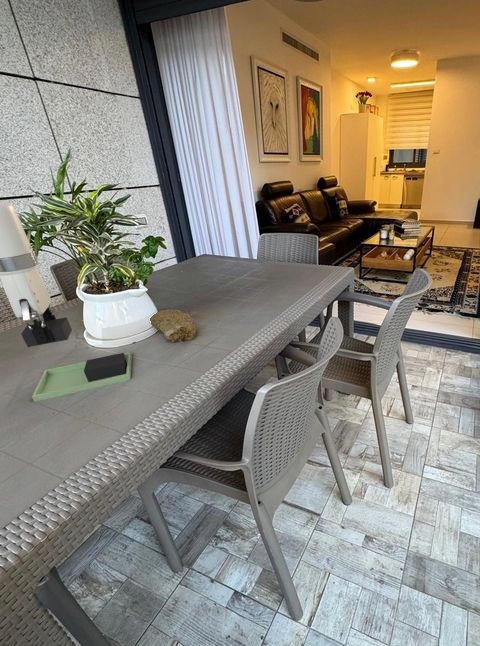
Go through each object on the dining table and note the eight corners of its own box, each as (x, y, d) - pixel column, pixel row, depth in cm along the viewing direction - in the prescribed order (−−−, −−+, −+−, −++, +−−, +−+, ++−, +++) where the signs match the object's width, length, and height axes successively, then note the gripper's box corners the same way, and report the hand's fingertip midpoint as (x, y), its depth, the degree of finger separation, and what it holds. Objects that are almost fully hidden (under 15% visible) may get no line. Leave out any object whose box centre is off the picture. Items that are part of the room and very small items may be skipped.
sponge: (203, 341, 114) (188, 309, 127) (194, 322, 108) (180, 291, 121) (162, 357, 110) (151, 323, 123) (151, 339, 104) (141, 306, 117)
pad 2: (88, 382, 92) (83, 371, 90) (91, 371, 96) (86, 360, 95) (126, 373, 95) (122, 362, 93) (127, 363, 99) (123, 352, 98)
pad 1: (27, 347, 81) (20, 333, 79) (34, 336, 86) (28, 323, 84) (67, 339, 84) (61, 326, 82) (72, 329, 88) (66, 317, 87)
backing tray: (35, 403, 85) (31, 396, 84) (47, 376, 96) (44, 369, 95) (130, 381, 92) (128, 374, 91) (132, 358, 103) (130, 352, 102)
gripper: (7, 256, 81) (40, 326, 90) (-22, 276, 67) (20, 356, 76) (45, 251, 84) (74, 320, 93) (24, 270, 70) (60, 349, 79)
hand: (49, 336), depth 84 cm, fingers closed on pad 1, 6 cm apart
